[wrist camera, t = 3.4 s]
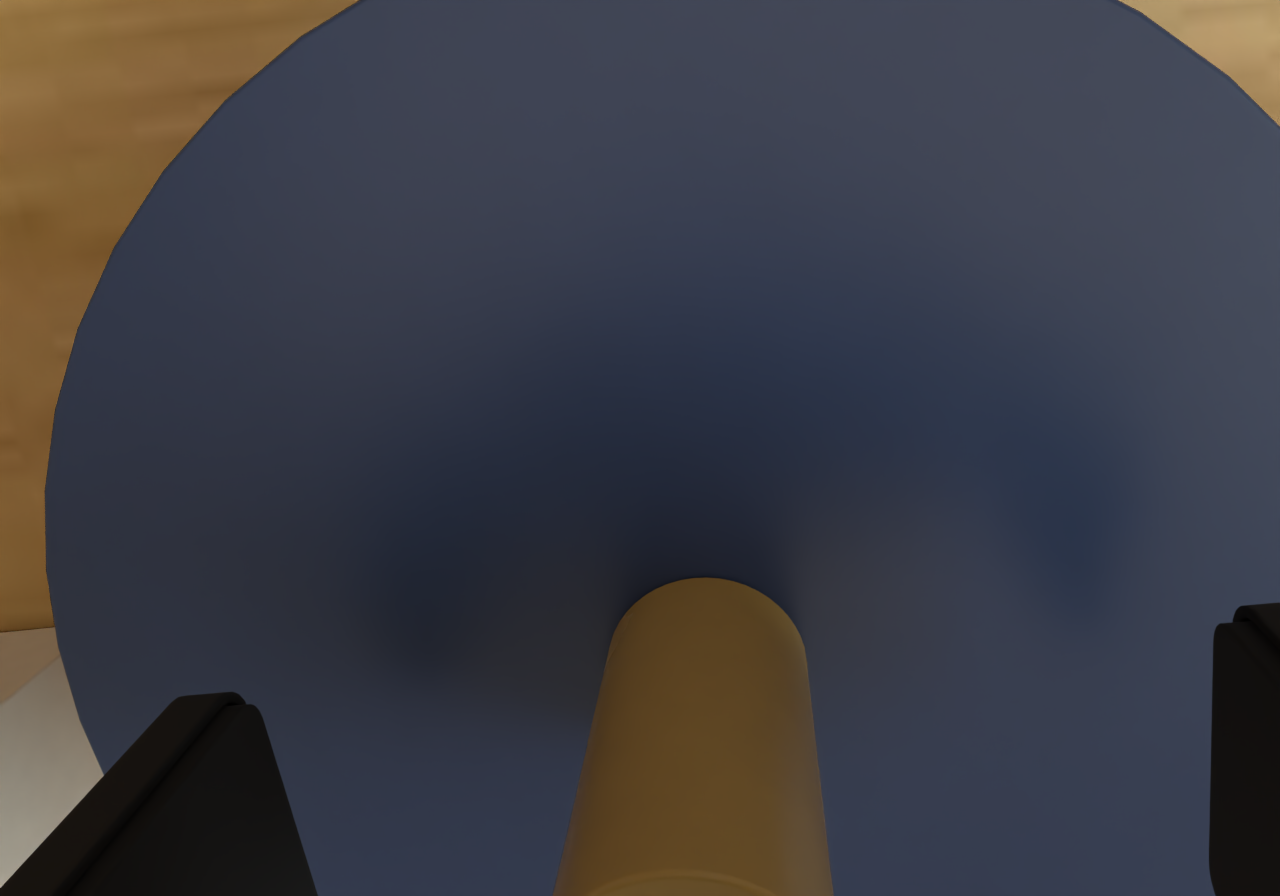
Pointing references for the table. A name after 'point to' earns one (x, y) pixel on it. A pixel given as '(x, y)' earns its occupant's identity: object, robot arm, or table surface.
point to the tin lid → (694, 445)
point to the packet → (37, 746)
